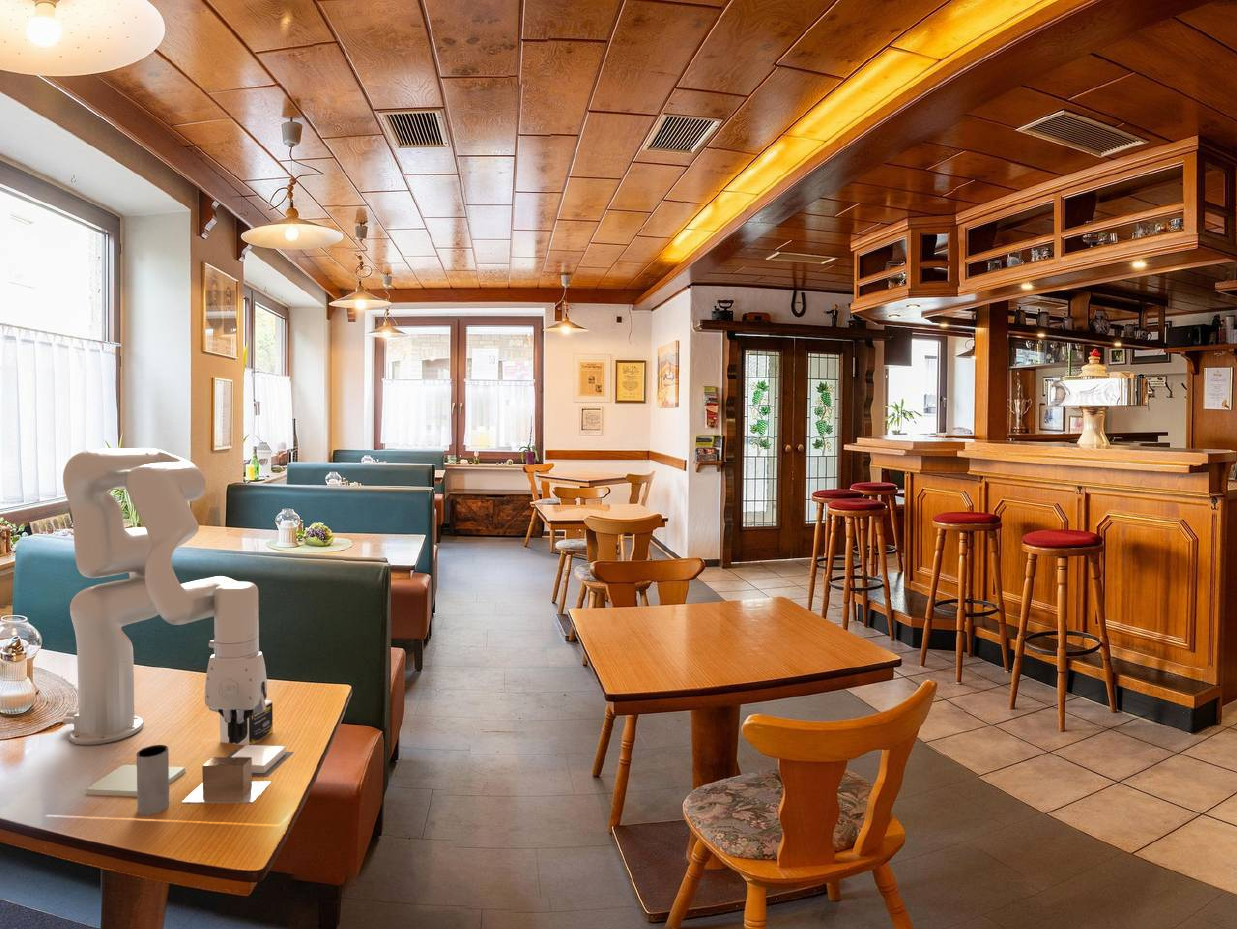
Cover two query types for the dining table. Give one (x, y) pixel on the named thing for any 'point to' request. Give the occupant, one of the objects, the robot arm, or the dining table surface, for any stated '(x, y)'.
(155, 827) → the dining table surface
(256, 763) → the tile
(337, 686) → the dining table surface
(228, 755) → the mat
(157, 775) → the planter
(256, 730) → the medicine bottle
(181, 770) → the board
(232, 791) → the float
